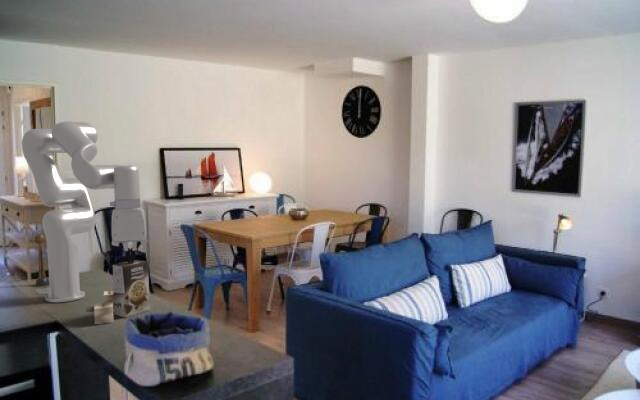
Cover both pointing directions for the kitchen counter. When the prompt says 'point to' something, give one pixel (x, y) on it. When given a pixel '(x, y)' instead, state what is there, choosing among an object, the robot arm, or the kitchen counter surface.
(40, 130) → the robot arm
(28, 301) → the kitchen counter surface
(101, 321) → the marked block front
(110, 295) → the marked block back
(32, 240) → the wooden tabletop sculpture
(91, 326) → the kitchen counter surface
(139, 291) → the coffee box
